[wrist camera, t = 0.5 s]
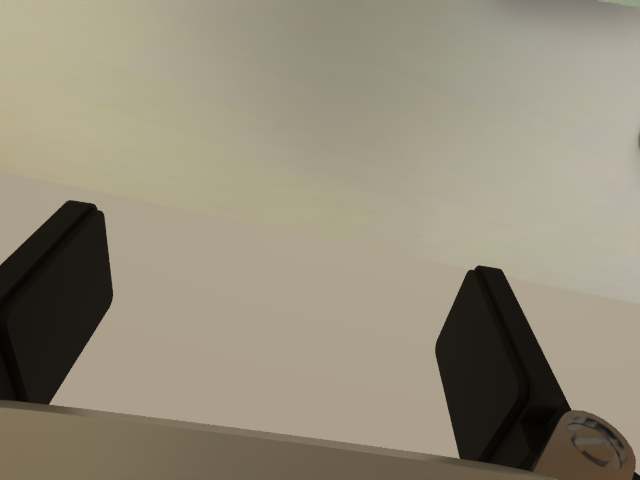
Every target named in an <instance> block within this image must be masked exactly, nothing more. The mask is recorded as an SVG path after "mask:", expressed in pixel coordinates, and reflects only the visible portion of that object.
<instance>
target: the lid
mask: <svg viewBox="0 0 640 480" xmlns="http://www.w3.org/2000/svg"><path fill="white" fill-rule="evenodd" d="M598 1H604V2H610V3H616V4H622V5H627V6H633V7H639V8H640V0H598Z"/></svg>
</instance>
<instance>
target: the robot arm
mask: <svg viewBox="0 0 640 480" xmlns="http://www.w3.org/2000/svg"><path fill="white" fill-rule="evenodd" d="M112 298H113V289H112V281H111V271H110V263H109V254H108V245H107V236H106V227H105V218H104V214H103V212H102V211H98V210H97V207H96V205H94V204H91V203H85V202H79V201H71V200H69V201H67V202H66V203H65V204H64V205H63V206H62V207H61V208H59V209H58V210H57V211H56V212H55V213H54V214H53V215H52V216H51V217H50V218H49V219H48V220H47V221H46V222H45V223H44V224H43V225H42V226H41V227H40V228H39V229H38V230H37V231H35V232H34V233H33V234H32V235H31V236H30V237H29V238H28V239H27V240H26V241H25V242H24V243H23V244H22V245H21V246H20V247H19V248H18V249H17V250H16V251H15V252H14V253H13V254H12V255H11V256H9V257H8V258H7V259H6V260H5V261H4V262H3V263H2V264H1V265H0V480H640V475H638V474H637V473H636V472H634V471H635V464H636V463H635V462H636V459H635V456H634V453H633V450H632V448H631V446H630V445H629V443H628V442H627V440H626V439H625V438H624V437H623V435H622V434H621V433H620V432H619V431H618V430H617V429H616V428H614V427H613V426H612V425H611V424H609V423H608V422H607V421H605V420H604V419H602V418H600V417H598V416H596V415H594V414H591V413H588V412H585V411H577V410H573V411H572V410H571V408H570V406H569V404H568V402H567V400H566V398H565V396H564V394H563V392H562V390H561V388H560V386H559V384H558V382H557V380H556V378H555V376H554V374H553V372H552V370H551V368H550V366H549V364H548V362H547V360H546V358H545V356H544V354H543V352H542V350H541V348H540V346H539V344H538V342H537V340H536V337H535V335H534V334H533V331H532V329H531V327H530V325H529V323H528V321H527V319H526V317H525V315H524V313H523V311H522V309H521V307H520V305H519V303H518V301H517V299H516V297H515V295H514V293H513V291H512V289H511V287H510V285H509V283H508V281H507V279H506V277H505V275H504V273H503V271H502V270H501V269H498V268H492V267H486V266H477V267H476V268H475V269H474V270H469V271H468V272H467V274H466V276H465V279H464V281H463V283H462V285H461V287H460V290H459V292H458V294H457V296H456V299H455V301H454V303H453V306H452V308H451V310H450V312H449V314H448V317H447V319H446V321H445V323H444V326H443V328H442V330H441V333H440V335H439V337H438V339H437V342H436V348H435V353H436V358H437V363H438V367H439V371H440V376H441V380H442V384H443V388H444V392H445V397H446V401H447V406H448V410H449V414H450V418H451V423H452V427H453V431H454V436H455V440H456V444H457V448H458V453H459V457H460V459H457V458H451V457H445V456H438V455H432V454H425V453H418V452H410V451H403V450H396V449H388V448H382V447H374V446H367V445H359V444H352V443H345V442H337V441H330V440H323V439H316V438H307V437H300V436H293V435H285V434H278V433H270V432H262V431H255V430H247V429H240V428H232V427H224V426H216V425H209V424H201V423H193V422H186V421H178V420H170V419H162V418H154V417H146V416H138V415H130V414H122V413H114V412H106V411H99V410H91V409H82V408H73V407H64V406H55V405H49V403H50V402H51V400H52V398H53V397H54V395H55V394H56V392H57V390H58V389H59V387H60V386H61V384H62V382H63V381H64V379H65V378H66V376H67V374H68V373H69V371H70V370H71V368H72V366H73V365H74V363H75V362H76V360H77V358H78V357H79V355H80V354H81V352H82V350H83V349H84V347H85V346H86V344H87V342H88V341H89V339H90V338H91V336H92V334H93V333H94V331H95V330H96V328H97V326H98V325H99V323H100V322H101V320H102V318H103V317H104V315H105V313H106V312H107V310H108V309H109V307H110V305H111V302H112Z"/></svg>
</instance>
